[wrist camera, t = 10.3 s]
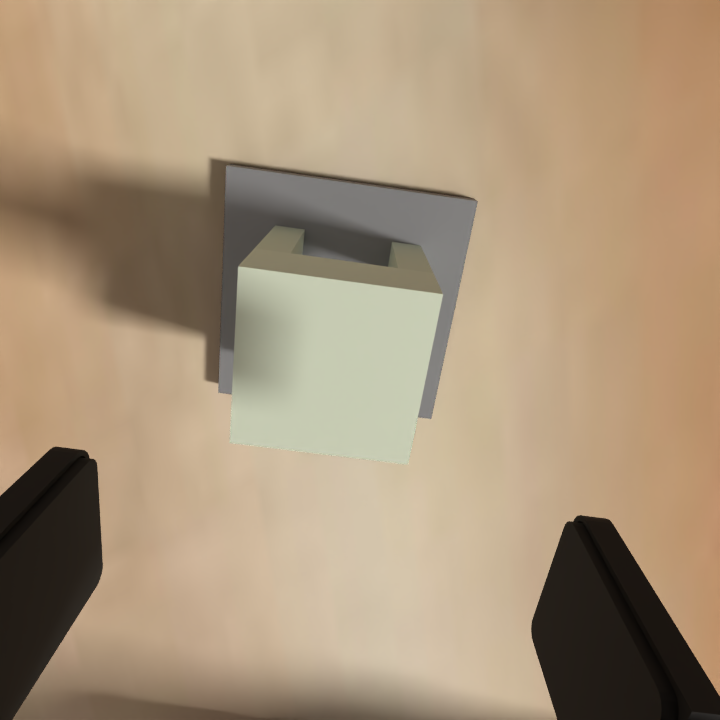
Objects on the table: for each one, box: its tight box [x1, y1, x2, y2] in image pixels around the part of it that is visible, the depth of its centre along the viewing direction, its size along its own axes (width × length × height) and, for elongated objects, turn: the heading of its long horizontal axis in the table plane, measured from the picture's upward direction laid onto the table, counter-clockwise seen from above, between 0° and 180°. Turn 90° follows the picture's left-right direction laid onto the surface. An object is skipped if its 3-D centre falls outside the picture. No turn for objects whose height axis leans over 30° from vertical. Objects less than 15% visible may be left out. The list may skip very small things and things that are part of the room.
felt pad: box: [218, 164, 478, 419], centre depth 24 cm, size 10×10×1 cm
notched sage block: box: [230, 225, 443, 465], centre depth 20 cm, size 6×6×7 cm
